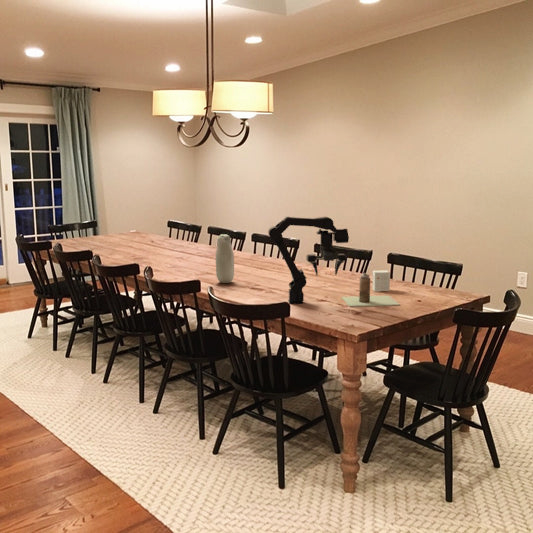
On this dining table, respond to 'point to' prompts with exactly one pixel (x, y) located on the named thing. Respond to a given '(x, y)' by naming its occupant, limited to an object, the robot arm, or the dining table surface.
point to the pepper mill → (364, 289)
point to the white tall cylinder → (224, 259)
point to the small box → (381, 280)
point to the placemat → (373, 301)
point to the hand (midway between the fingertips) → (326, 275)
